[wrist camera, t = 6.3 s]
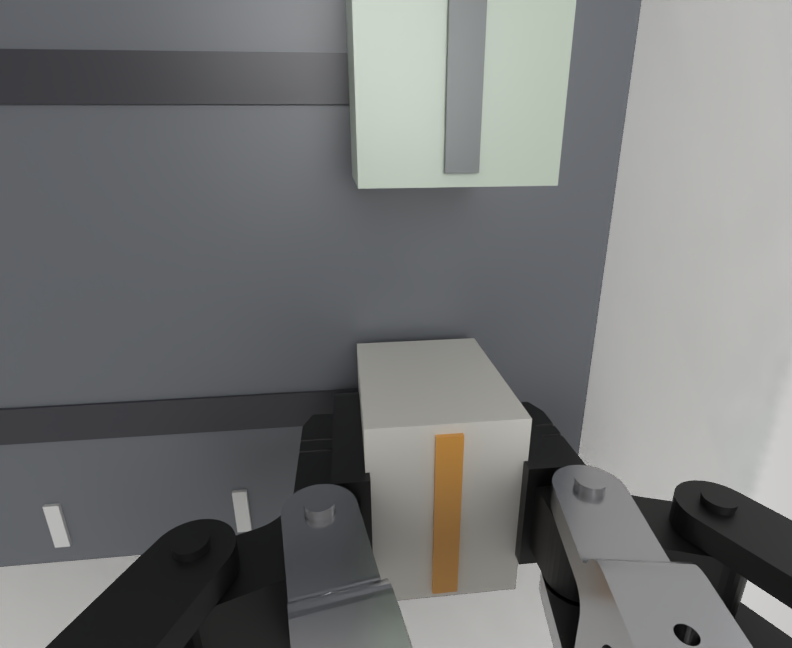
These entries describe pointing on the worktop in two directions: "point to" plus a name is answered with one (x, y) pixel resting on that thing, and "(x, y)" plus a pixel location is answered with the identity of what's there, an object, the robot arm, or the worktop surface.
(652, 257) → the worktop surface
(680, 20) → the worktop surface
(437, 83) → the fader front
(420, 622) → the worktop surface
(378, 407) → the block
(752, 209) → the worktop surface
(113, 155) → the fader board
